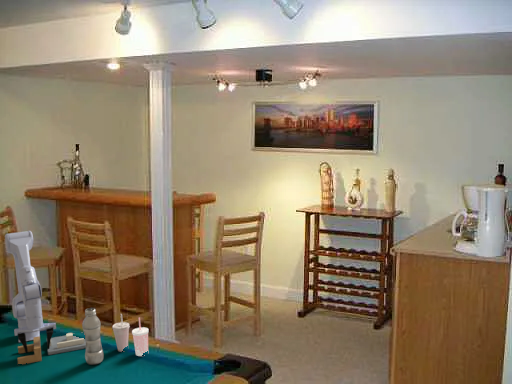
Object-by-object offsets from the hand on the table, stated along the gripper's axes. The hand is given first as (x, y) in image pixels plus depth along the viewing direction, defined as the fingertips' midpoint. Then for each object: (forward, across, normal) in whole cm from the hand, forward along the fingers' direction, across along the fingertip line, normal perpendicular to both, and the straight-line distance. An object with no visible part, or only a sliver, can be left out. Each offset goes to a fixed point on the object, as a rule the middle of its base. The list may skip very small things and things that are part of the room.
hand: (37, 350), depth 215 cm
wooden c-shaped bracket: (+2, -3, 0) cm, 4 cm away
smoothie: (+2, +30, -10) cm, 32 cm away
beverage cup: (+2, +36, -17) cm, 40 cm away
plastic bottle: (+2, +19, -17) cm, 26 cm away
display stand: (+2, +12, +5) cm, 13 cm away
